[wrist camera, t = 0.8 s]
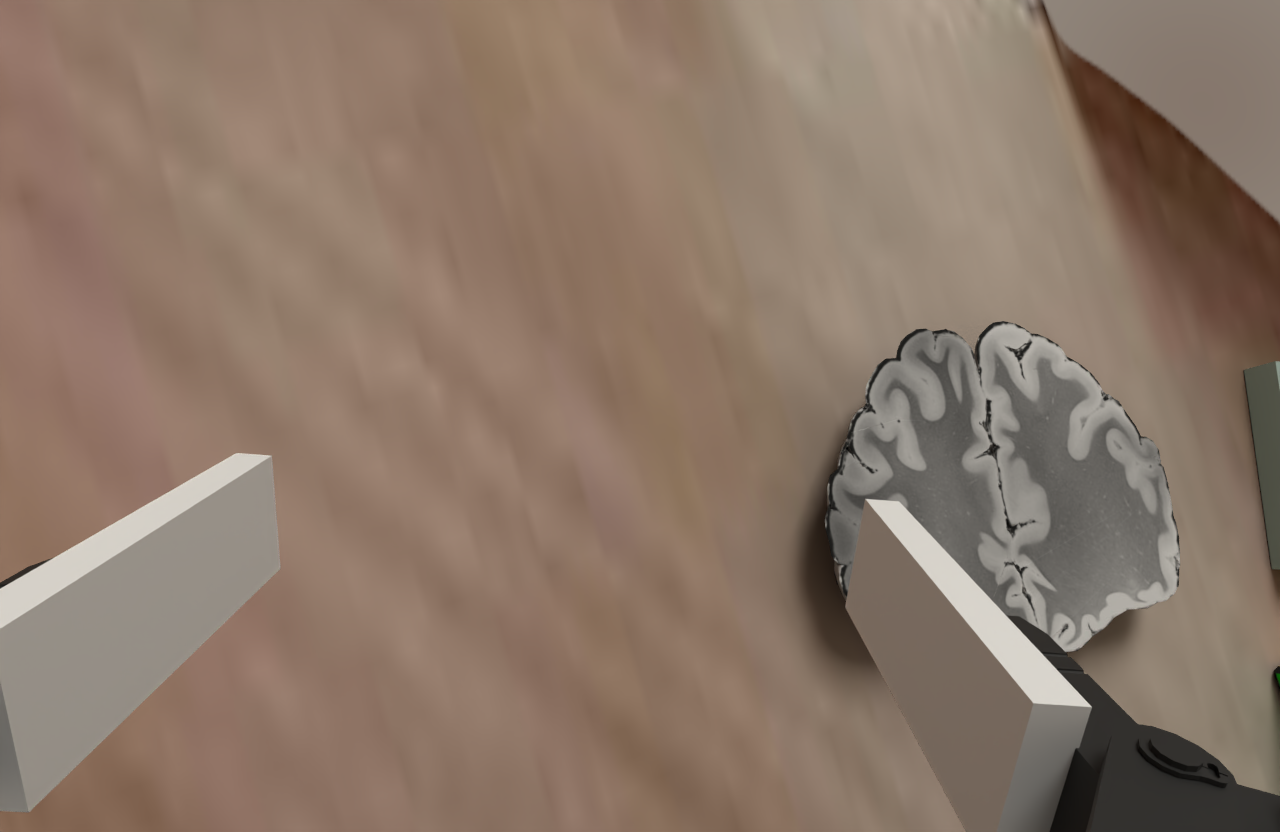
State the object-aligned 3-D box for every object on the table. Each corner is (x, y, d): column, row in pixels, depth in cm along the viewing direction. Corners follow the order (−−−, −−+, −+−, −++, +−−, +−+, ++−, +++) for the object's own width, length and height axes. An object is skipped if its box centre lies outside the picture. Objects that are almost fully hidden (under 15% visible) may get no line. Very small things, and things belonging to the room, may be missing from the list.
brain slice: (1081, 333, 40) (1124, 315, 38) (1154, 626, 37) (1206, 631, 34) (774, 348, 37) (795, 330, 34) (822, 674, 33) (850, 684, 31)
